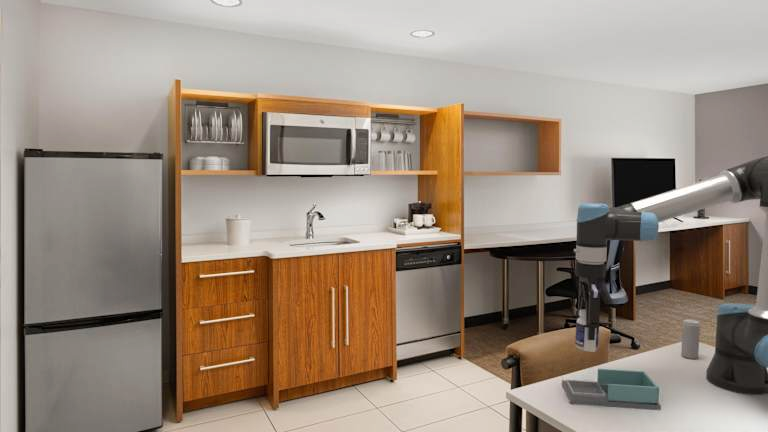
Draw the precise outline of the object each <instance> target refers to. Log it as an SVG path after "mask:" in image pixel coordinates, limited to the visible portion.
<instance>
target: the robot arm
mask: <svg viewBox="0 0 768 432" xmlns="http://www.w3.org/2000/svg"><path fill="white" fill-rule="evenodd" d="M751 200H752V201H753V200H759V208H760V210H762V211H763V212H764V213H765V221H764V231H763V240H762V249H761V257H760V265H759V273H758V274H759V276H758V282H757V284H758V285H757V292H756V301H755V302H756V303H755V304H748V303H735V302H734V303H727V302H726V303H721V304H720V305H719V306H718V307H717V313H716V329H715V344H714V345H715V347H714V355H713V357H712V358H711V360H710V363H709V364H708V367H707V369H706V375H705V376H706V380H707V381H708V382H709V383H711V384H713V385H714V386H716V387H719V388H721V389H724V390H727V391H731V392H735V393H738V394H739V393H740V394H745V395H767V394H768V155H767V156H761V157H758V158H754V159H753V160H750V161H747V162H743V163H741V164H738V165H735V166H733V167H730V168H728V169H723V170H722V171H720V172H719V174H718V175H716V176H713V177H710V178H708V179H703V180H701V181H698V182H693V183H691V184H688V185H685V186H682V187H678V188H674V189H671V190H668V191H665V192H662V193H659V194H656V195H652V196H649V197H646V198H642V199H639V200H637V201H632V202H630V203H627V204H623V205H620V206H618V207H615V206H614V207H613V206H611V207H609V205H608V204H605V203H592V202H591V203H589V202H588V203H586V202H585V203H581V204H579V206H578V208H577V214H576V215H577V217H576V241H575V242H576V244H575V247H576V248H573V253H575V260H576V262H575V263H574V274H575V276H576V277H578V278H580V279H579V280H578V298H577V299H578V302H577V314H578V318H580V316H579V310H582V309H586V325H583V327H585V337H584V350H583V351H584V352H591V353H595V352H596V351H597V350H596V328H599V329H600V313H601V312H600V311H601V310H600V309H601V307H600V306H601V296H602V290H601V289H600V284H598V280H599V279H604V278H605V277H606V269H607V267H606V263H605V262H607V250H608V241H633V242H634V241H635V242H646V241H648V242H651V241H654V240H655V239H656V238H657V236H658V234H659V223H660V222H664V221H667V220H672V219H675V218H678V217H681V216H684V215H687V214H691V213H695V212H698V211H700V210H704V209H707V208H710V207H711V208H712V207H715V206H718V205H720V204H721V205H722V204H724V203H728V202H730V203H732V204H737V203H741V202H745V201H751Z"/></svg>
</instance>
